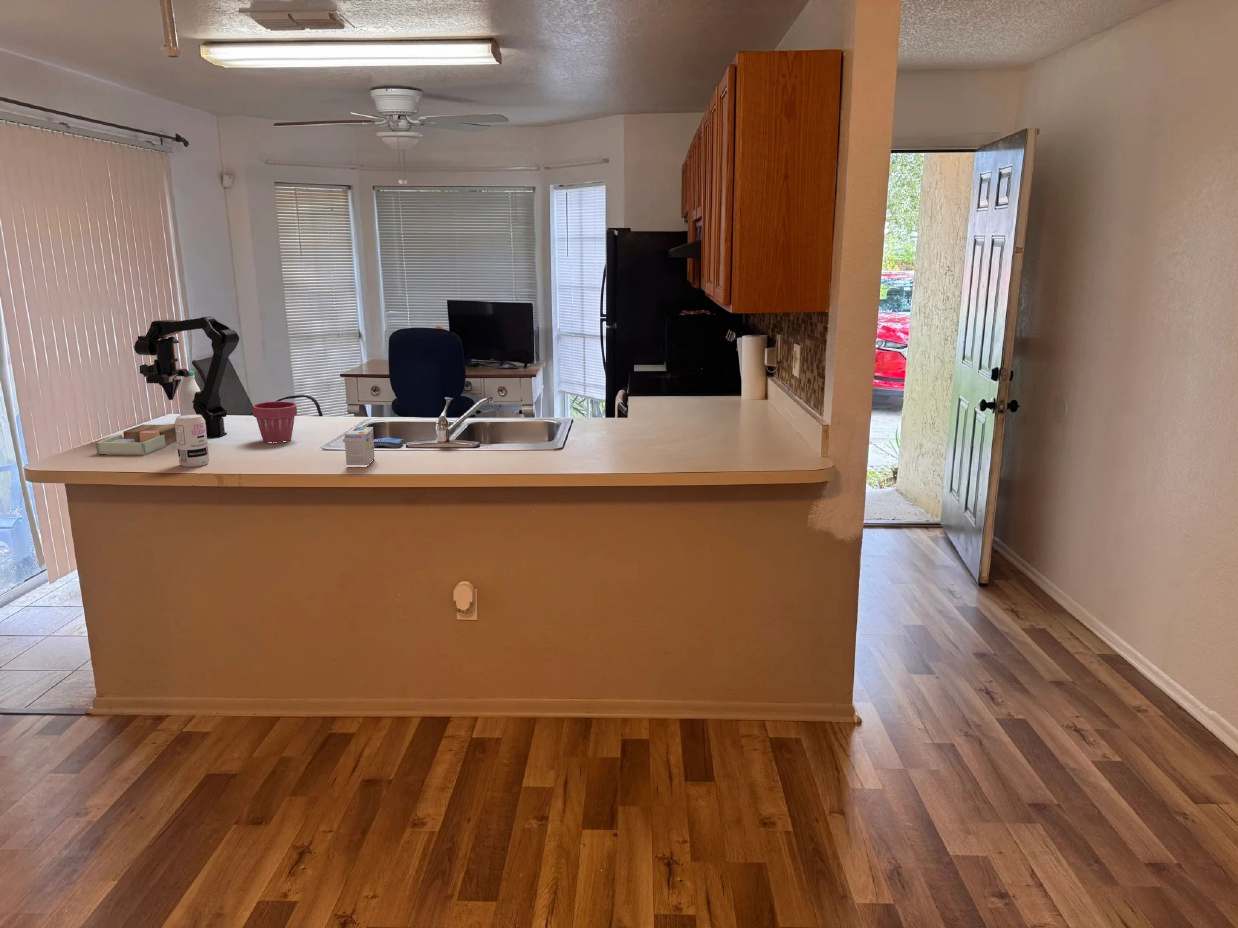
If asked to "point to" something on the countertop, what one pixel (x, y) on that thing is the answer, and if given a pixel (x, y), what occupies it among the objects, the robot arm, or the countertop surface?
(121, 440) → the pale grey squat block
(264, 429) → the plant pot
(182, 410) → the milk bottle
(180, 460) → the supplement can
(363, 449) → the light bulb box
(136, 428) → the walnut block
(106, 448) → the sage tray
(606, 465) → the countertop surface
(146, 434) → the peach square prism
